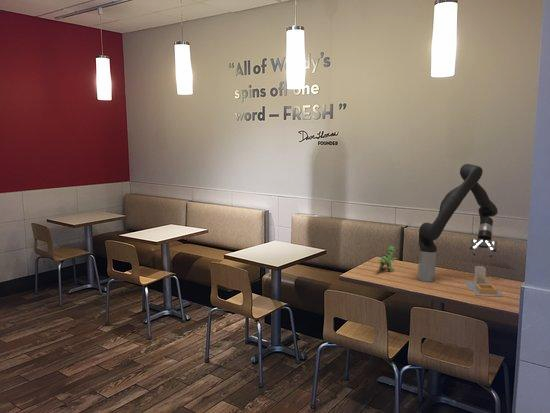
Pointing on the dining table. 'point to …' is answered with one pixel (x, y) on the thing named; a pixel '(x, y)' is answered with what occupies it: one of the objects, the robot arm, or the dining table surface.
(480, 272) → the brushed metal pillar
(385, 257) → the toy
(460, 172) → the robot arm
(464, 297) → the dining table surface
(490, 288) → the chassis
